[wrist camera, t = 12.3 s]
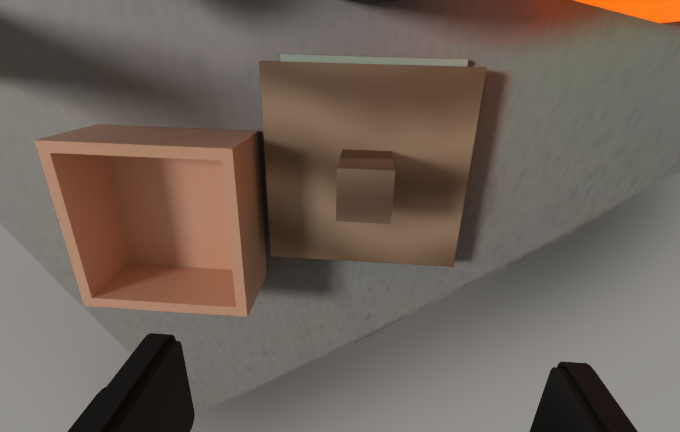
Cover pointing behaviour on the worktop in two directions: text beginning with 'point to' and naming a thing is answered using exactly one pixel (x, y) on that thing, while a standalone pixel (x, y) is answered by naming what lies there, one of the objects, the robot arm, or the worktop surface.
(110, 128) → the salmon open box
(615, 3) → the orange juice
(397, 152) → the lid
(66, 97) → the worktop surface
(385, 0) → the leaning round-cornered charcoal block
